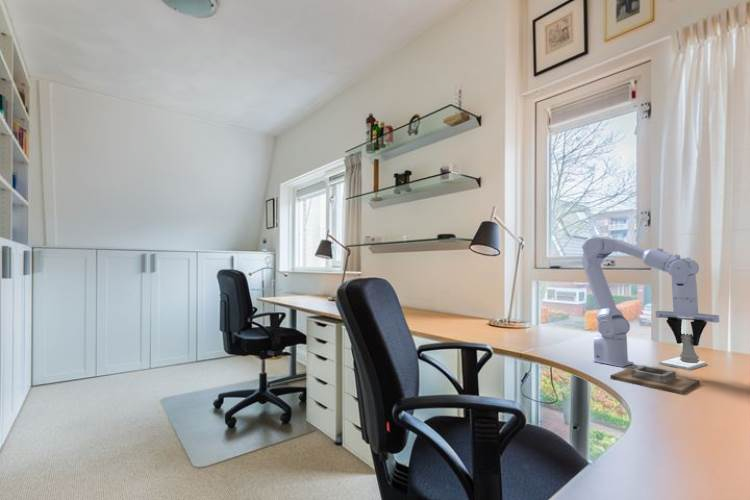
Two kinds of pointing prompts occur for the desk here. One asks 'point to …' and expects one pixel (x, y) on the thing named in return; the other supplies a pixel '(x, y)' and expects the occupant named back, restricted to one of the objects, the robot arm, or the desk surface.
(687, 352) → the rook chess piece
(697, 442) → the desk surface
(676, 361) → the external hard drive
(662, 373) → the socket board
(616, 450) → the desk surface
